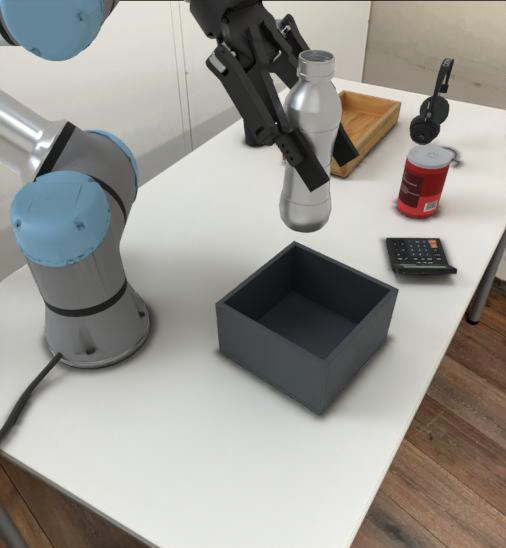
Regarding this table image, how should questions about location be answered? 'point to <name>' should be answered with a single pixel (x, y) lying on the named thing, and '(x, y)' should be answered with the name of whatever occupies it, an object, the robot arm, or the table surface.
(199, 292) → the table surface
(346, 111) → the tray
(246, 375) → the table surface
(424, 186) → the canned food
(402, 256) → the calculator
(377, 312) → the bin
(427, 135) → the headphones
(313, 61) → the plastic bottle
